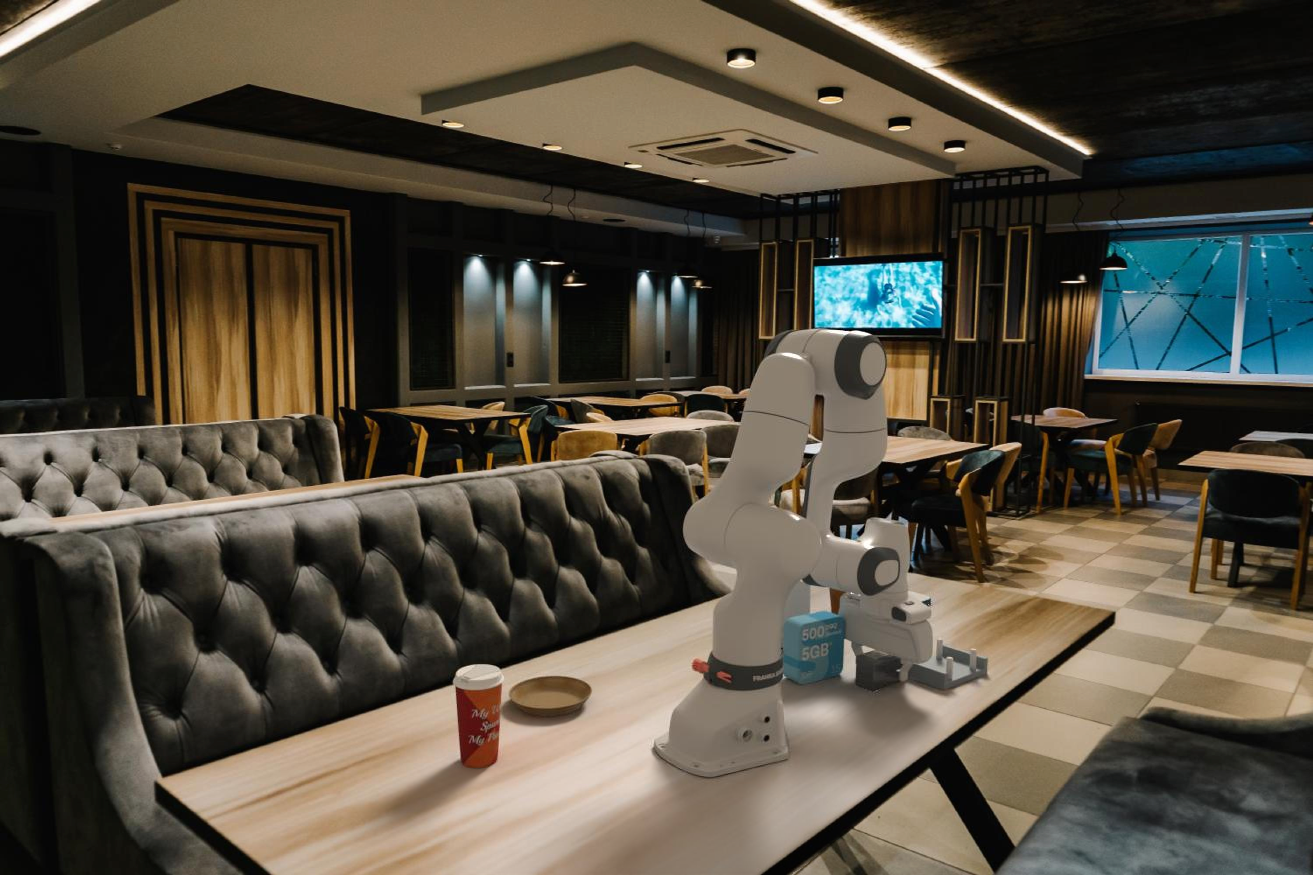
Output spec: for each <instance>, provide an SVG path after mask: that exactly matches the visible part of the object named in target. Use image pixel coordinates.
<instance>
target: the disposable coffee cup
mask: <svg viewBox="0 0 1313 875" xmlns="http://www.w3.org/2000/svg"><path fill="white" fill-rule="evenodd" d="M828 589H829V600H830V612H831V613H833V614H836V615H838V612H839V608H840V597H841V596H842V595H843V594H845V593H846V592H844V591H840V590H836V589H832V588H828ZM853 594H854V593H853ZM845 596H846V595H845Z"/></svg>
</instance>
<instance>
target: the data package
mask: <svg viewBox="0 0 1313 875" xmlns="http://www.w3.org/2000/svg"><path fill="white" fill-rule="evenodd" d="M844 633H845V621H844V618H843V617H841V616H839V615H836V614H833V613H831V611H827V610H822V611H817V612H810V614H806V615H801V616H796V617H791V618H788V619H787V620H786V622H785V624H784V640H783V648H782V656H783V666H784V670H783V677H786V678H787V679H789V680H790V681H793V682H795V683H797V684H799V685H806V684H810V683H814V682H817V681H823V680H826V679H829V678H833V677H837V676H839V675H840V674H841V673H842V671H843V670H844V660H845V659H844V658H845V657H844V655H845V654H844V653H845V639H844Z"/></svg>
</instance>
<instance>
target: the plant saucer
mask: <svg viewBox="0 0 1313 875" xmlns="http://www.w3.org/2000/svg"><path fill="white" fill-rule="evenodd" d="M592 692H593V688H592V685H590V684H589V683H588V682H586V681H584V680H583V679H580V678H576V677H573V676H566V675H565V676H564V675H545V676H544V675H543V676H537V677H536V676H535V677H532V678H528V679H524V680H522V681H520V682H517V683H516V684H514V685H513V686H512V687H511V688H509V691H508V697H509V698H510V700H511V701H512V702H513V703H514V705H516V706H517V707H518V708H519V709H520V710H521V711H523V712H525V713H527V714H530V715H532V716H539V717H557V716H558V717H559V716H564V715H568V714H570V713H573V712H574V711H577V710H578V709H579V708H581V707H582V705H584V703H586V702H587V700H589V698H590V697H591V695H592V694H593V693H592Z"/></svg>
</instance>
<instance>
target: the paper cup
mask: <svg viewBox="0 0 1313 875" xmlns="http://www.w3.org/2000/svg"><path fill="white" fill-rule="evenodd" d="M503 682H505V676H504V675H503V674H502V671H501V669H500V667H498V666H496V665H492V664H486V663H485V664H483V663H482V664H481V663H480V664H479V663H478V664H470V665H466V666H463V667H460V668H459V669H458V670H457V671H456V672H455V676H454V678H453V680H452V684H453V685H454V687H455V700H456V702H455V703H456V715H457V730H458V741H459V742H458V743H459V754H460V755H459V756H460V762H461V764H462V766H464V767H467V768H470V769H483V768H487V767H491V766H493V765H494V764H495V763H496V762H497V761H498V758H499V747H500V730H501V729H500V727H501V712H502V711H501V709H502V693H503V692H502V688H503Z"/></svg>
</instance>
